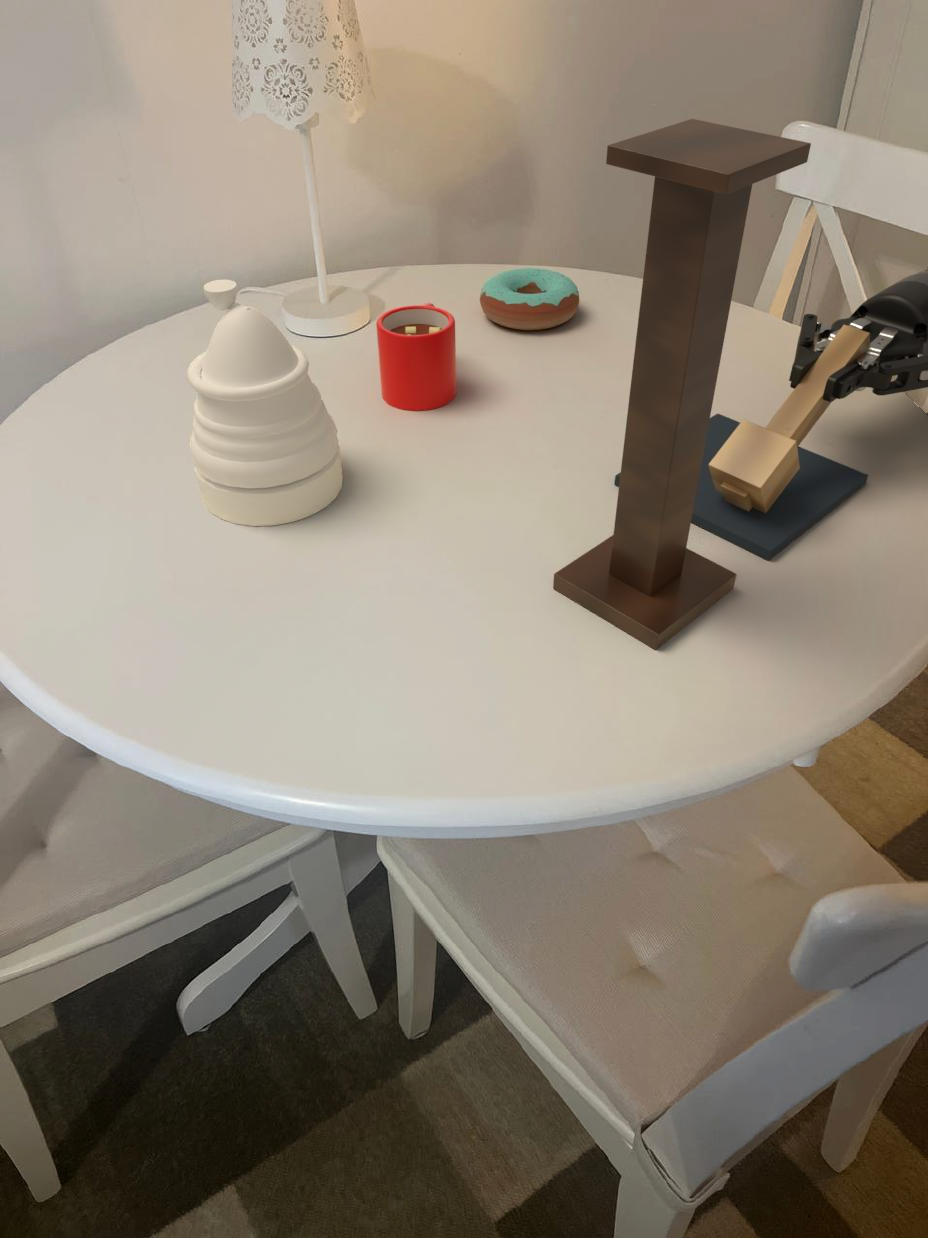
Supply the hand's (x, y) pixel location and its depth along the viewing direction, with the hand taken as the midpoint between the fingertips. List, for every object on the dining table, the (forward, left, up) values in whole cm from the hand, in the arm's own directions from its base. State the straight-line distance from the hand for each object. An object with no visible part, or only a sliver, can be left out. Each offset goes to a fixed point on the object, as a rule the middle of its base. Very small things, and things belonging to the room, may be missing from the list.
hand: (812, 384), depth 77 cm
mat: (+3, +3, -10) cm, 11 cm away
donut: (+42, -11, -10) cm, 44 cm away
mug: (+38, +10, -10) cm, 41 cm away
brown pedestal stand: (0, +21, -10) cm, 23 cm away
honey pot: (+33, +33, -10) cm, 48 cm away
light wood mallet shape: (0, +1, -4) cm, 4 cm away
